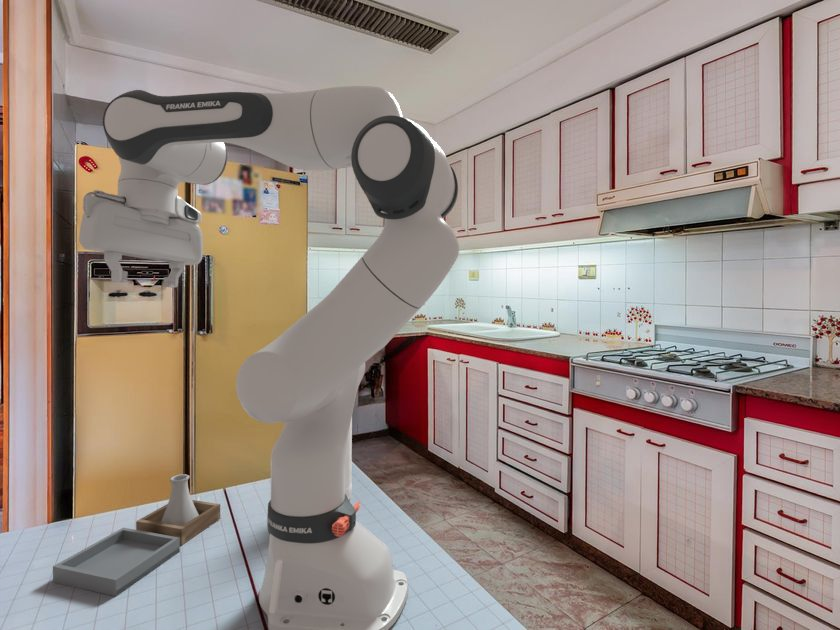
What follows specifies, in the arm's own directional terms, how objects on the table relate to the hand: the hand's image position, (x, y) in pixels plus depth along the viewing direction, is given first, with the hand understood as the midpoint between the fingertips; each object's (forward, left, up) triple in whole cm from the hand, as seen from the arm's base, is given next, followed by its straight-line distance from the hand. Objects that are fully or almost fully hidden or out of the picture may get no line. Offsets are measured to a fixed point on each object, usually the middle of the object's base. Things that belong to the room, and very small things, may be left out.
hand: (146, 284), depth 77 cm
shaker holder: (+2, -9, -47) cm, 48 cm away
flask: (+2, -9, -47) cm, 48 cm away
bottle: (-21, -29, -47) cm, 59 cm away
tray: (+2, +4, -47) cm, 47 cm away
